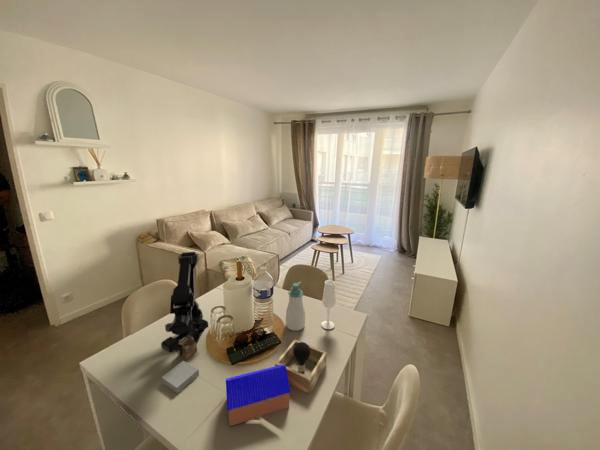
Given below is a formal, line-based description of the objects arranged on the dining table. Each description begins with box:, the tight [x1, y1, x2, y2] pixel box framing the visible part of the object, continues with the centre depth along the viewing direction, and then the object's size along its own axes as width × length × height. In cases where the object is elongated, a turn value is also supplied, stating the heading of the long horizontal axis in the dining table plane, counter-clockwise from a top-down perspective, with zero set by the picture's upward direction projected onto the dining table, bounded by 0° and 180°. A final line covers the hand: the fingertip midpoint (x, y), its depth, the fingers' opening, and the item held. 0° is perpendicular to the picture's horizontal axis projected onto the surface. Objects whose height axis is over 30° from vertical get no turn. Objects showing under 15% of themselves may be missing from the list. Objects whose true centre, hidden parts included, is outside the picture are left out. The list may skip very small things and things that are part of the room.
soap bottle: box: [285, 281, 306, 332], centre depth 120 cm, size 10×10×23 cm
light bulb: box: [293, 341, 310, 373], centre depth 94 cm, size 7×7×12 cm
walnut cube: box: [180, 337, 198, 360], centre depth 103 cm, size 5×5×5 cm
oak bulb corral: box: [274, 339, 328, 395], centre depth 95 cm, size 15×15×6 cm
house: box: [225, 365, 291, 427], centre depth 82 cm, size 12×20×12 cm, turn 109°
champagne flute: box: [321, 279, 336, 330], centre depth 120 cm, size 7×7×24 cm
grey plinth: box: [161, 360, 200, 395], centre depth 91 cm, size 9×9×3 cm
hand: (188, 350), depth 104 cm, fingers open, 7 cm apart
